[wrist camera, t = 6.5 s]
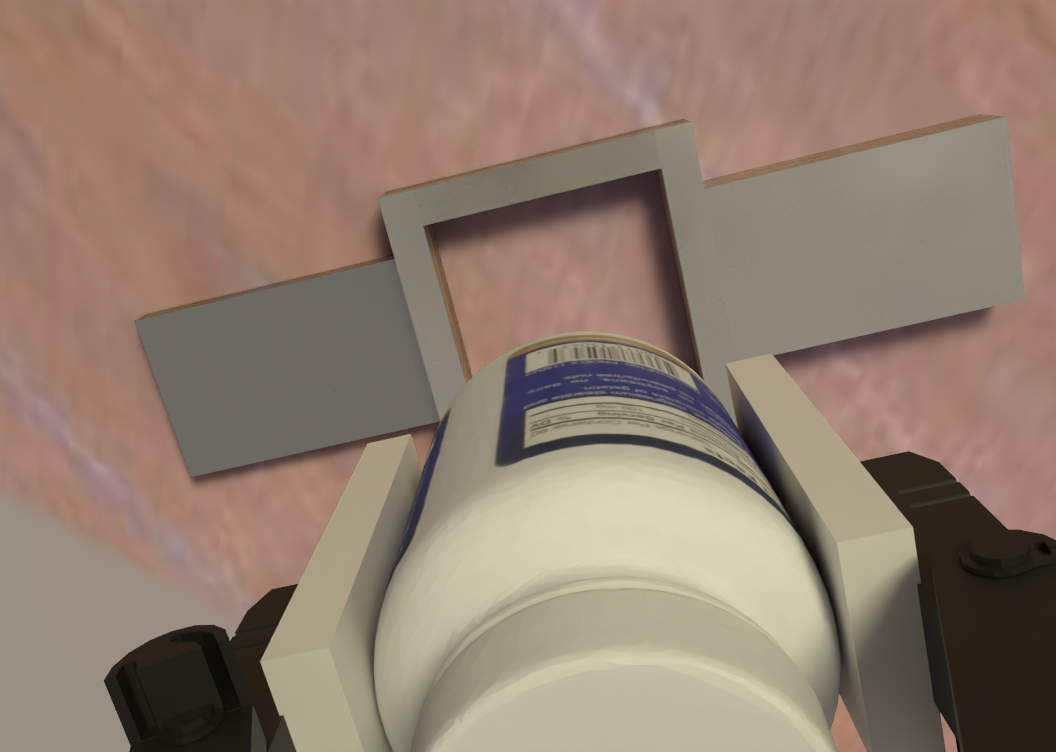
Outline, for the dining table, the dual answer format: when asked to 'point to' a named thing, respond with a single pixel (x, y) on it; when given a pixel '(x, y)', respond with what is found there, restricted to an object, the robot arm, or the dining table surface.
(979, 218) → the square frame bracket
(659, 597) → the pill bottle
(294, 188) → the dining table surface
